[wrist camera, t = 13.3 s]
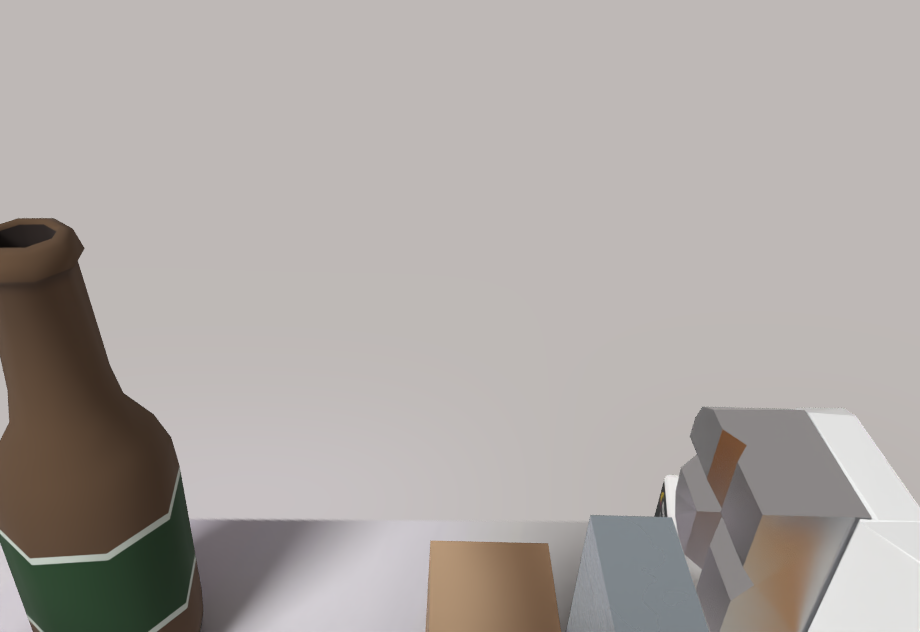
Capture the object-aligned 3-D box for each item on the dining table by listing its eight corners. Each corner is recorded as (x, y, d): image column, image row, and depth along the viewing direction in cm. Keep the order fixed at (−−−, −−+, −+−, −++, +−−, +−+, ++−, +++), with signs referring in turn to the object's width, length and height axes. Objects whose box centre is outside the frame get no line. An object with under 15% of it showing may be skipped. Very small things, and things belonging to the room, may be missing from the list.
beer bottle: (187, 564, 46) (115, 177, 33) (226, 672, 40) (157, 258, 28) (40, 617, 42) (-106, 208, 30) (60, 744, 37) (-108, 308, 24)
